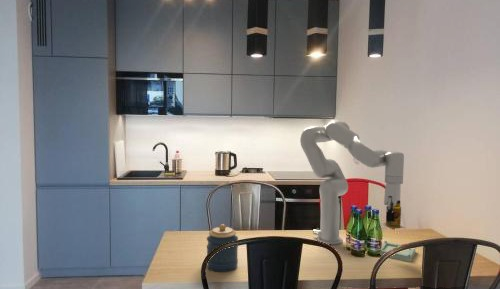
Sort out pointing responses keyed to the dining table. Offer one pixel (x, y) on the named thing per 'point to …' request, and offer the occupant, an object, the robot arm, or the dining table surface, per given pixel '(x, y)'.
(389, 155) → the robot arm
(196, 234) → the dining table surface
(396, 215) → the condiment
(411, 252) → the socket plate
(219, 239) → the canister
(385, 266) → the dining table surface
